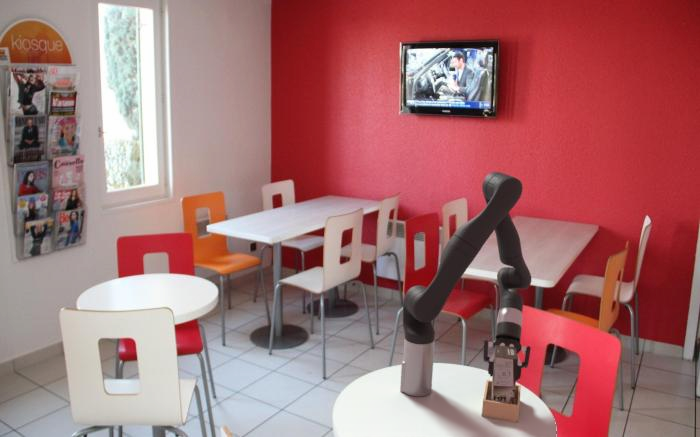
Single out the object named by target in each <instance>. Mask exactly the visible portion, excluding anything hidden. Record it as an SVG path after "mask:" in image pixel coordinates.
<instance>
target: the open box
mask: <svg viewBox="0 0 700 437" xmlns="http://www.w3.org/2000/svg"><path fill="white" fill-rule="evenodd" d="M521 388H522V386H521V384H516V385H515V395H514V404H508V403H502V402H496V401H491V390H492V380H489V379H486V381H485V387H484V393H483V397H482V408H481V410H482V411H481V417H486V418H490V419H497V420H503V421H507V422H508V421H509V422H514V423H519V414H520V405H521V404H520V403H521V390H522V389H521Z"/></svg>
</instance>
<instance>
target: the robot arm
mask: <svg viewBox="0 0 700 437" xmlns="http://www.w3.org/2000/svg"><path fill="white" fill-rule="evenodd" d="M481 185H482V188H481V189H482V194H483V196H484V200H485V202H486V205H485V207H484V208H483V210H481V212H479V213H478V214H477V215H476V216H475V217H472V218H471V219H470V220H468V221H467V222H464V223H463V224H462V225H461V226H460V227H458V228H457V229H456V230H455V231H454V232H453V234H452V236H451V237H450V238H449V240H448V241H447V243H446V244H445V246H444V248H443V251H442V254H441V257H440V259H439V260H440V261H439V264H438V265H439V266H438V268H437V271H436V274H435V276H434V277H433V279H432V281H431V282H430V284H429V285H428V286H427V287H426V286H424V285H420V284H418V285H414V286H412V287H410V288H409V289H408V290H407V291H406V293H405V295H404V297H403V298H404V299H403V303H402V328H403V332H404V339H403V340H404V342H403V343H404V344H403V357H402V358H403V360H402V362H401V368H400V371H401V372H400V388H399V389H400V392H402V393H405V394H406V395H408V396H412V397H426V396H428V395H430V394H431V393H432V387H433V384H432V383H433V369H434V356H435V354H434V353H435V339H436V331H435V328H434V326H433V323H432V321H434V320H435V319H436V318H437V317H438V316H439V315H440V313H441V312H442V310H443V308H444V307H445V305H446V302H448V299H449V297H450V295H451V293H452V292H453V290H454V288H455V287H456V286H457V285H458V283H459V282H460V280H461V278H462V277H463V275H464V274H465V272H466V271H467V269H468V268H469V267H470V265H471V264H472V263H473V262H474V260H475V258H476V257H477V255H478V254H479V252H480V251H481V250H482V248H483V246H484V245H485V244H486V242H487V241H488V239H489V238H490V237H491V235H492V234H493V233H495V237H496V242H497V243H496V244H497V249H498V255H499V256H498V257H499V261H500V262H501V264H502V265H505V267H501V268H500V269H499V270H498V272H497V274H496V278H497V285H498V289H499V298H500V299H499V307H498V308H499V310H498V314H497V318H496V329H495V338H494V340H493V341H488V339H485V340H484V341H483V356H482V358H483V362H486V363H488V369H487V373H488V375H489V377H493V366H494V354H495V351H494V352H493V353H492V355H491V357H490V356H489V350H490V349H491V348H492V347H493V349H495V345H497V346H511V347H516V349H517V355H518V365H517V375H516V381H517V382H518V381H519V380H520V379H521V378H522V377H521V376H522V370H523V369H524V368H528V367H529V362H530V355H531V350H532V348H531V346H530V345H527V346H524V345H522V342H521V340H522V339H521V338H522V330H523V329H522V328H523V309H524V298H523V296H522V295H521V294H519V293H518V292H514V291H510V290H527V289H528V288H530V286H531V283H532V274H531V272H530V269H529V267H528V265H527V264H526V261H525V259H524V255H523V251H522V243H521V239H520V234H519V232H518V230H517V228H516V225H515V224H514V221H513V218H512V216H511V214H510V211H512V209H514V208H515V206H516V205H517V203H518V202H519V200H520V198H521V197H522V194H523V189H524V188H523V184H522V182H521V180H520V179H518V178H516V177H514V176H513V175H509V174H506V173H503V172H500V171H493V172H492V171H491V172H490V173H488V174H487V175H486V176H485V177H484V179H483V182H482V184H481ZM507 266H508V267H507ZM521 351H522V354H523V355H524V361H521V359H520V356H519V353H520V352H521Z"/></svg>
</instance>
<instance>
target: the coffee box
mask: <svg viewBox="0 0 700 437" xmlns="http://www.w3.org/2000/svg"><path fill="white" fill-rule="evenodd" d="M494 352H495V354H494V353H493V354H494V366H493V376H492V377H491V378H492V380H491V381H492V390H491V401H496V402H502V403H508V404H514V395H515V385H517V383H516V381H517V380H516V375H517V365H518V356H519V354H518V355H517V349H516V347H511V346H497V345H495V348H494Z"/></svg>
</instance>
